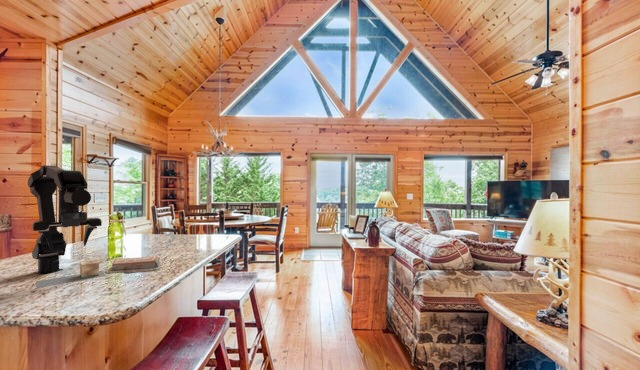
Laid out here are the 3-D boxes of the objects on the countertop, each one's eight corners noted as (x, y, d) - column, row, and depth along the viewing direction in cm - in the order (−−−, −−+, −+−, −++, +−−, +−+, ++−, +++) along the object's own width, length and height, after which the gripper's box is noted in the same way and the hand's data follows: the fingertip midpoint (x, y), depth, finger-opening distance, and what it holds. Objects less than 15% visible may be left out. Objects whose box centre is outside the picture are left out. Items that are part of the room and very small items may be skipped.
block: (98, 262, 111) (98, 275, 111) (96, 260, 115) (96, 272, 115) (82, 265, 108) (82, 278, 108) (80, 262, 111) (79, 275, 111)
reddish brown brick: (161, 254, 129) (156, 260, 120) (161, 265, 129) (156, 271, 120) (113, 257, 124) (104, 263, 114) (113, 268, 124) (104, 275, 114)
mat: (36, 289, 98) (36, 287, 98) (35, 282, 104) (35, 281, 104) (106, 276, 111) (106, 275, 111) (101, 271, 118) (101, 270, 118)
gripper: (34, 207, 94) (33, 255, 94) (104, 204, 108) (104, 247, 108) (32, 205, 102) (32, 250, 102) (98, 203, 116) (98, 242, 116)
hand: (68, 247), depth 107 cm, fingers open, 9 cm apart
